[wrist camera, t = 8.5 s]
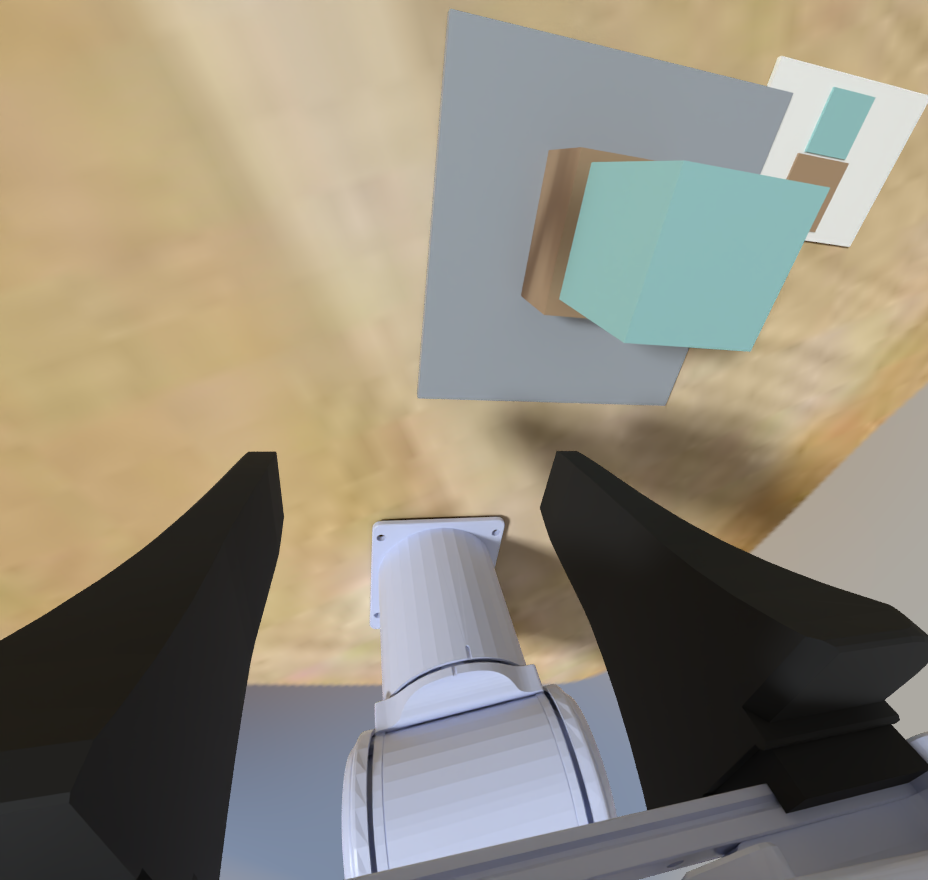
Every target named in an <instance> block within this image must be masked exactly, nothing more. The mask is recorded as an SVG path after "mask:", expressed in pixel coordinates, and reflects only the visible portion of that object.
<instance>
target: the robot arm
mask: <svg viewBox="0 0 928 880" xmlns="http://www.w3.org/2000/svg"><path fill="white" fill-rule="evenodd" d="M540 510H541V513H542V516H543V520H544V523H545V526H546V529H547V532H548V535H549V538H550V541H551V543H552V545H553V547H554V549H555V551H556V553H557V555H558V558H559V560H560V562H561V564H562V566H563V568H564V570H565V572H566V574H567V576H568V578H569V580H570V582H571V584H572V586H573V588H574V590H575V592H576V594H577V596H578V598H579V600H580V602H581V605H582V607H583V609H584V611H585V613H586V615H587V618H588V620H589V622H590V624H591V627H592V630H593V632H594V635H595V638H596V641H597V643H598V646H599V649H600V651H601V654H602V657H603V660H604V662H605V665H606V668H607V671H608V674H609V677H610V680H611V683H612V686H613V689H614V692H615V695H616V698H617V701H618V705H619V708H620V711H621V715H622V718H623V722H624V725H625V728H626V731H627V735H628V738H629V741H630V745H631V749H632V752H633V756H634V760H635V764H636V768H637V771H638V775H639V779H640V783H641V786H642V790H643V794H644V799H645V803H646V807H647V811H643V812H639V813H634V814H630V815H625V816H621V817H617V815H616V810H615V805H614V801H613V796H612V792H611V789H610V785H609V781H608V778H607V775H606V771H605V768H604V765H603V762H602V759H601V756H600V753H599V750H598V748H597V745H596V742H595V740H594V737H593V735H592V732H591V730H590V728H589V726H588V724H587V721H586V719H585V717H584V715H583V713H582V711H581V710H580V708H579V706H578V705H577V703H576V702H575V701H574V699H572V697H570V696H569V695H568V694H566V693H565V692H564V691H562V689H561V688H560V687H558V686H557V685H555V684H551V685H547V686H543V687H542V684H541V681H540V678H539V675H538V673H537V670H536V667H535V665H534V664H531V665H526V663H525V660H524V657H523V654H522V651H521V648H520V645H519V641H518V638H517V635H516V632H515V629H514V626H513V623H512V620H511V617H510V614H509V611H508V608H507V605H506V602H505V599H504V596H503V593H502V590H501V587H500V584H499V581H498V578H497V575H496V571H495V565H496V561H497V556H498V552H499V548H500V544H501V539H502V535H503V531H504V527H505V523H504V521H503V519H502V518H501V517H476V518H449V519H421V520H393V521H378V522H376V523H375V524H374V525H373V528H372V564H371V600H370V626H371V627H372V628H374V629H380V635H381V661H382V687H383V701H380V702H376V703H375V729H372V730H368V731H365V732H363V733H361V734H360V736H359V738H358V739H357V743H356V744H355V746H354V748H353V749H352V751H351V752H350V754H349V756H348V760H347V763H346V768H345V774H344V783H343V796H342V847H343V862H344V873H345V880H639V879H642V878H646V877H650V876H654V875H657V874H661V873H665V872H668V871H672V870H676V869H679V868H683V867H687V866H690V865H694V864H698V863H702V862H705V861H709V860H712V859H716V858H720V857H722V858H720V859H718V860H716V861H713V862H711V863H708V864H706V865H703V866H701V867H699V868H696V869H694V870H691V871H689V872H687V873H686V874H685V876H684V877H683V879H682V880H928V732H924V733H921V734H918V735H915V736H913V737H911V738H909V739H907V740H905V739H904V738H903V737H902V735H901V734H900V733H899V732H898V731H897V730H896V729H895V728H894V727H893V726H892V725H891V724H895V723H897V722H898V721H899V720H900V719H899V715H898V714H897V713H896V712H895V711H894V710H893V709H892V708H891V707H890V706H889V705H888V703H887V702H886V701H885V699H886V698H887V697H889V696H890V695H891V694H892V693H894V692H895V691H896V690H897V689H899V688H900V687H901V686H902V685H904V684H905V683H906V682H907V681H908V680H910V679H911V678H912V677H913V676H915V675H916V674H917V673H918V672H919V671H920V670H921V669H922V668H923V667H925V666H926V664H927V663H928V635H927V634H926V633H925V632H924V631H923V630H921V629H920V628H919V627H918V626H917V625H916V624H914V623H913V622H912V621H911V620H910V619H908V618H907V617H906V616H905V615H904V614H902V613H901V612H900V611H898V610H897V609H895V608H894V607H892V606H891V605H888V604H885V603H882V602H879V601H876V600H873V599H870V598H867V597H863V596H861V595H857V594H854V593H851V592H848V591H845V590H842V589H839V588H836V587H833V586H830V585H827V584H824V583H821V582H819V581H816V580H813V579H811V578H808V577H805V576H803V575H800V574H797V573H795V572H792V571H790V570H787V569H784V568H782V567H780V566H777V565H775V564H772V563H770V562H767V561H765V560H763V559H761V558H759V557H756V556H754V555H752V554H750V553H747V552H745V551H743V550H741V549H739V548H736V547H734V546H732V545H730V544H728V543H726V542H724V541H722V540H720V539H718V538H716V537H714V536H712V535H710V534H708V533H707V532H705V531H703V530H701V529H699V528H697V527H695V526H693V525H692V524H690V523H688V522H686V521H685V520H683V519H681V518H679V517H678V516H676V515H674V514H673V513H671V512H669V511H668V510H666V509H665V508H663V507H661V506H660V505H658V504H656V503H655V502H653V501H652V500H650V499H649V498H647V497H646V496H644V495H643V494H641V493H640V492H638V491H637V490H635V489H634V488H632V487H631V486H629V485H628V484H626V483H625V482H623V481H622V480H620V479H619V478H617V477H616V476H615V475H613V474H612V473H610V472H609V471H607V470H606V469H604V468H603V467H601V466H600V465H598V464H597V463H595V462H594V461H592V460H591V459H589V458H588V457H586V456H584V455H583V454H581V453H579V452H577V451H557V452H556V455H555V459H554V462H553V465H552V469H551V472H550V475H549V479H548V482H547V485H546V489H545V492H544V496H543V499H542V502H541V506H540ZM283 520H284V513H283V505H282V496H281V488H280V479H279V470H278V462H277V453H276V452H248V453H246V454H245V455H244V456H243V457H242V458H241V459H240V460H239V461H238V462H237V463H236V464H235V465H234V466H233V467H232V468H231V469H230V470H229V471H228V472H227V473H226V474H225V475H224V476H223V477H222V478H221V479H220V480H219V481H218V482H217V483H216V484H215V485H214V486H213V487H212V488H211V489H210V490H209V491H208V492H207V493H206V494H205V495H204V496H203V497H202V498H201V499H200V500H199V501H198V502H197V503H196V504H194V505H193V506H192V507H191V508H190V509H189V510H188V511H187V512H186V513H185V514H184V515H182V516H181V517H180V518H179V519H178V520H177V521H175V522H174V523H173V524H172V525H171V526H170V527H168V528H167V529H166V530H165V531H164V532H163V533H161V534H160V535H159V536H158V537H157V538H156V539H154V540H153V541H152V542H151V543H149V544H148V545H147V546H146V547H144V548H143V549H142V550H140V551H139V552H138V553H137V554H135V555H134V556H132V557H131V558H130V559H128V560H127V561H125V562H124V563H123V564H121V565H120V566H119V567H117V568H116V569H114V570H113V571H112V572H110V573H109V574H107V575H106V576H104V577H103V578H101V579H100V580H98V581H97V582H95V583H94V584H92V585H91V586H89V587H87V588H86V589H84V590H83V591H81V592H80V593H78V594H76V595H75V596H73V597H72V598H70V599H69V600H67V601H66V602H64V603H62V604H61V605H59V606H58V607H56V608H55V609H53V610H51V611H50V612H48V613H47V614H45V615H43V616H42V617H40V618H38V619H37V620H35V621H33V622H32V623H30V624H28V625H26V626H25V627H23V628H21V629H20V630H18V631H16V632H14V633H13V634H11V635H9V636H7V637H6V638H4V639H2V640H0V880H219V877H220V869H221V861H222V853H223V845H224V837H225V829H226V821H227V813H228V806H229V799H230V792H231V784H232V778H233V770H234V763H235V756H236V750H237V743H238V736H239V730H240V724H241V717H242V710H243V704H244V698H245V692H246V686H247V680H248V674H249V668H250V663H251V658H252V653H253V649H254V645H255V640H256V637H257V633H258V629H259V626H260V622H261V618H262V615H263V611H264V607H265V604H266V600H267V596H268V593H269V589H270V585H271V582H272V578H273V574H274V571H275V567H276V563H277V559H278V555H279V549H280V542H281V535H282V528H283ZM494 530H496V531H494ZM493 531H494V532H493ZM378 535H384V536H378Z"/></svg>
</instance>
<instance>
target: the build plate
mask: <svg viewBox="0 0 928 880" xmlns="http://www.w3.org/2000/svg"><path fill="white" fill-rule="evenodd" d="M792 96H793V93H792V92H788V91H783V90H779V89H775V88H771V87H767V86H763V85H759V84H755V83H751V82H747V81H743V80H739V79H735V78H731V77H726V76H722V75H718V74H714V73H710V72H706V71H702V70H698V69H694V68H690V67H686V66H682V65H678V64H674V63H669V62H665V61H661V60H657V59H653V58H649V57H645V56H641V55H637V54H633V53H629V52H625V51H621V50H617V49H612V48H608V47H604V46H600V45H596V44H592V43H588V42H584V41H580V40H576V39H572V38H568V37H564V36H560V35H555V34H551V33H547V32H543V31H539V30H535V29H531V28H527V27H523V26H519V25H515V24H511V23H507V22H503V21H499V20H494V19H490V18H486V17H482V16H478V15H474V14H470V13H466V12H462V11H458V10H454V9H449V11H448V18H447V30H446V43H445V55H444V67H443V80H442V92H441V105H440V117H439V129H438V142H437V154H436V166H435V179H434V191H433V204H432V216H431V228H430V241H429V253H428V265H427V278H426V290H425V303H424V315H423V327H422V340H421V352H420V364H419V377H418V389H417V397H418V398H426V399H460V400H493V401H527V402H560V403H594V404H627V405H661V406H665V405H666V402H667V400H668V398H669V395H670V393H671V390H672V388H673V385H674V383H675V381H676V378H677V376H678V373H679V371H680V368H681V366H682V364H683V361H684V359H685V356H686V354H687V351H688V349H689V347H676V346H661V345H646V344H632V343H623V342H622V341H620V340H619V339H617V338H616V337H614V336H613V335H611V334H610V333H608V332H607V331H606V330H604V329H603V328H601V327H600V326H598V325H597V324H595V323H594V322H592V321H591V320H589V319H588V318H575V317H563V316H550V315H543V314H542V313H541V312H540V311H539V310H537V309H536V308H535V307H534V306H532V305H531V304H530V303H529V302H528V301H526V300H525V299H524V298H523V297H521V292H522V287H523V282H524V277H525V271H526V266H527V261H528V256H529V251H530V245H531V240H532V235H533V230H534V224H535V219H536V214H537V209H538V204H539V198H540V193H541V188H542V183H543V177H544V172H545V167H546V162H547V157H548V151H549V150H555V149H566V148H578V147H583V148H589V149H594V150H600V151H605V152H611V153H616V154H622V155H627V156H633V157H638V158H644V159H649V160H655V161H678V160H685V161H690V162H695V163H701V164H706V165H712V166H717V167H722V168H728V169H733V170H738V171H744V172H749V173H755V174H761V171H762V169H763V166H764V164H765V161H766V159H767V157H768V154H769V152H770V149H771V147H772V144H773V142H774V140H775V137H776V135H777V132H778V130H779V127H780V125H781V122H782V120H783V118H784V115H785V113H786V110H787V108H788V105H789V103H790V101H791V98H792Z"/></svg>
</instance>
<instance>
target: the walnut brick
mask: <svg viewBox="0 0 928 880" xmlns="http://www.w3.org/2000/svg"><path fill="white" fill-rule="evenodd" d="M626 161H655V160H649V159H644V158H638V157H633V156H627V155H622V154H616V153H611V152H605V151H600V150H594V149H589V148H583V147H578V148H566V149H555V150H549V151H548V157H547V162H546V167H545V172H544V177H543V183H542V188H541V193H540V198H539V204H538V209H537V214H536V219H535V224H534V230H533V235H532V240H531V245H530V251H529V256H528V261H527V266H526V271H525V277H524V282H523V287H522V292H521V297H523V298H524V299H525V300H526V301H528V302H529V303H530V304H531V305H532V306H534V307H535V308H536V309H537V310H539V311H540V312H541V313H542V314H543V315H550V316H563V317H575V318H586V317H585V316H583V315H582V314H580V313H579V312H577V311H576V310H574V309H573V308H571V307H570V306H568V305H567V304H565V303H564V302H563V301H561V300H560V299H559V298H560V293H561V289H562V285H563V281H564V277H565V272H566V268H567V264H568V260H569V256H570V251H571V247H572V243H573V239H574V234H575V230H576V226H577V222H578V218H579V213H580V209H581V205H582V201H583V196H584V192H585V188H586V184H587V180H588V175H589V171H590V167H591V163H592V162H626Z"/></svg>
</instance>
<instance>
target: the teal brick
mask: <svg viewBox="0 0 928 880" xmlns="http://www.w3.org/2000/svg"><path fill="white" fill-rule="evenodd" d="M829 190H830V187H824V186H819V185H814V184H808V183H803V182H797V181H792V180H787V179H781V178H776V177H771V176H765V175H760V174H755V173H749V172H744V171H738V170H733V169H728V168H722V167H717V166H712V165H706V164H701V163H695V162H690V161H685V160H678V161H626V162H592V163H591V167H590V171H589V175H588V180H587V184H586V188H585V192H584V196H583V201H582V205H581V209H580V213H579V218H578V222H577V226H576V230H575V234H574V239H573V243H572V247H571V251H570V256H569V260H568V264H567V268H566V272H565V277H564V281H563V285H562V289H561V293H560V298H559V299H560V300H561V301H563V302H564V303H565V304H567V305H568V306H570V307H571V308H573V309H574V310H576V311H577V312H579V313H580V314H582V315H583V316H585V317H586V318H588V319H589V320H591V321H592V322H594V323H595V324H597V325H598V326H600V327H601V328H603V329H604V330H606V331H607V332H608V333H610V334H611V335H613V336H614V337H616V338H617V339H619V340H620V341H622V342H623V343H632V344H646V345H661V346H676V347H691V348H705V349H720V350H735V351H751V349H752V347H753V345H754V343H755V341H756V339H757V337H758V335H759V333H760V331H761V329H762V327H763V325H764V323H765V321H766V319H767V316H768V314H769V312H770V310H771V308H772V306H773V304H774V302H775V300H776V298H777V296H778V294H779V292H780V290H781V288H782V286H783V284H784V282H785V280H786V278H787V276H788V274H789V271H790V269H791V267H792V265H793V263H794V261H795V259H796V257H797V255H798V253H799V251H800V249H801V247H802V245H803V243H804V241H805V239H806V237H807V235H808V233H809V231H810V229H811V226H812V224H813V222H814V220H815V218H816V216H817V214H818V212H819V210H820V208H821V206H822V204H823V202H824V200H825V198H826V196H827V194H828V192H829Z"/></svg>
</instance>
